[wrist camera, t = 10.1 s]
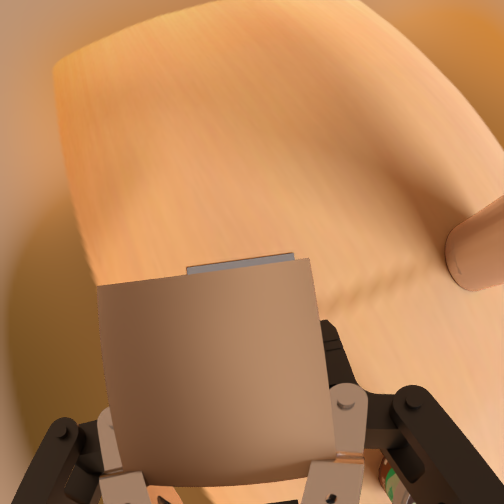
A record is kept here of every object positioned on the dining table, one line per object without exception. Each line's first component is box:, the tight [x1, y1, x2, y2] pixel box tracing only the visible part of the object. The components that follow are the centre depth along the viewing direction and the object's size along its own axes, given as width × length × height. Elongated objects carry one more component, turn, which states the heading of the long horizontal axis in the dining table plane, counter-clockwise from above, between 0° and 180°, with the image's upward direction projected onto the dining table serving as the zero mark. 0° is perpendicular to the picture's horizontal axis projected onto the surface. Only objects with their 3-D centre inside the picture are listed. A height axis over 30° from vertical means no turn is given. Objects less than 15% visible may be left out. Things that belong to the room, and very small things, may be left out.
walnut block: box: [97, 258, 336, 487], centre depth 11 cm, size 5×5×10 cm
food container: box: [379, 456, 416, 504], centre depth 23 cm, size 12×6×10 cm, turn 39°
